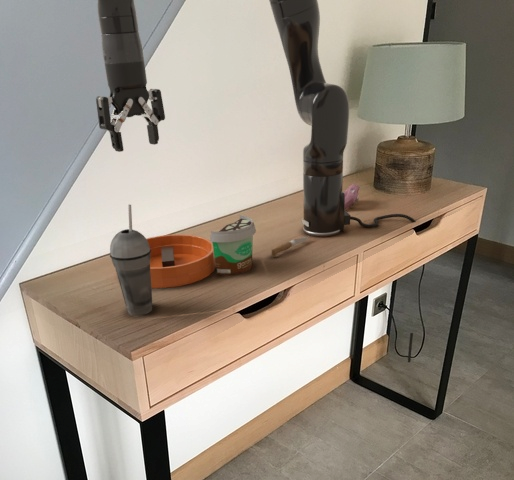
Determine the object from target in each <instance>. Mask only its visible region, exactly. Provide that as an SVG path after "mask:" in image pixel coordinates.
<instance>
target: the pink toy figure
mask: <svg viewBox="0 0 514 480" xmlns="http://www.w3.org/2000/svg"><path fill="white" fill-rule="evenodd" d="M359 190H360V186H359V185H358V184H355V183H351V184H350V185H349V186H348V187H347V189H346V190H344V191H343V192H344V193H345V210H347V209H351V208H352V206H353V205H354V203H356V202H359V199H360V198H359V197H358V196H359Z"/></svg>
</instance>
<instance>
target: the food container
mask: <svg viewBox="0 0 514 480" xmlns="http://www.w3.org/2000/svg"><path fill="white" fill-rule="evenodd" d="M256 232H257V229H256V225H255V223H254V221H253V219H252V218H251V217H250V216H247V215H242V214H239V219H238V220H236V221H235V222H233V223H232V222H231V223H228V224H226V225H225V226H224V227H223V228H220V230H219V231H215V230H210V238H209V240H210V242H212V243H213V250H214V256H215V263H216V268H215V270H216V275H217V276H227V277H228V276H229V277H231V276H237V275H238V276H239V275H242V274H245V273H248V272H249V271H250V270H251V269H252V268H253V246H254V244H253V242H254V241H253V239H254V235H255V234H256Z"/></svg>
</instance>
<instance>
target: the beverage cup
mask: <svg viewBox="0 0 514 480" xmlns="http://www.w3.org/2000/svg"><path fill="white" fill-rule="evenodd" d="M127 209H128V210H127V211H128V212H127V213H128V228H127V229H123V230H120V231H119V232H117V233H115V235H114V236H113V237H112V240H111V241H110V246H109V258H110V259H111V262H112V264H113V267H114V268H115V272H116V275H117V280H118V283H119V287H120V290H121V294H122V297H123V301H124V305H125V307H126V310H127V313H128V314H129V315H131V316H144V315H146V314H149V313H151V312H152V311H153V293H152V292H153V290H152V289H153V288H151V273H150V262H151V254H150V253H151V249H150V247H149V243H148V241H147V237H145V235H144V234H143V233H142V232H140V231H139V230H136V229H133V215H132V214H133V213H132V212H133V211H132V204H128V205H127Z"/></svg>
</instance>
